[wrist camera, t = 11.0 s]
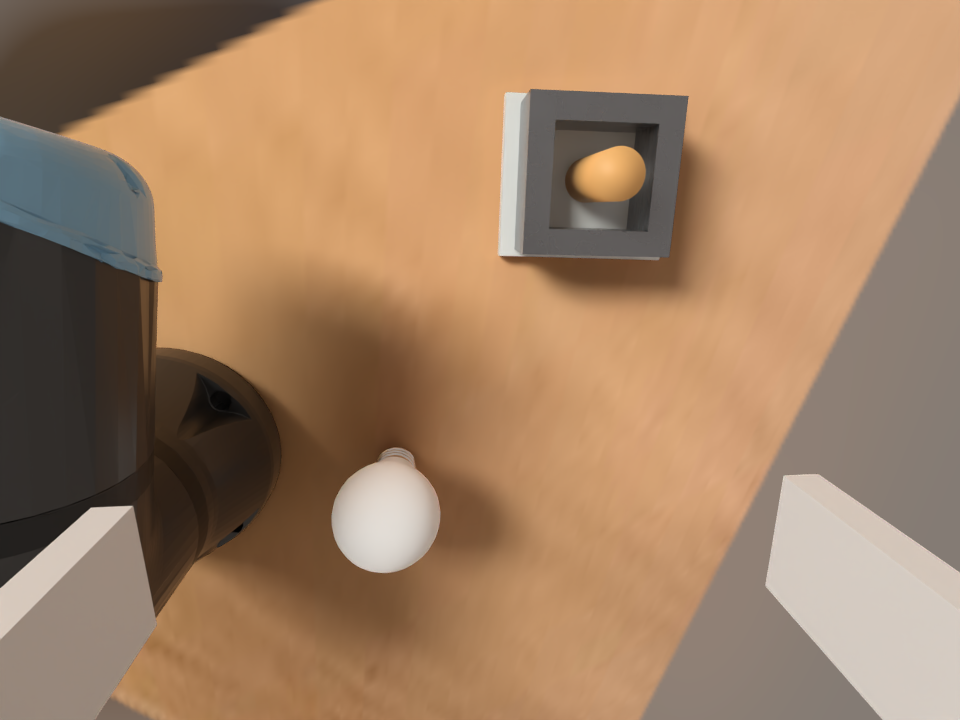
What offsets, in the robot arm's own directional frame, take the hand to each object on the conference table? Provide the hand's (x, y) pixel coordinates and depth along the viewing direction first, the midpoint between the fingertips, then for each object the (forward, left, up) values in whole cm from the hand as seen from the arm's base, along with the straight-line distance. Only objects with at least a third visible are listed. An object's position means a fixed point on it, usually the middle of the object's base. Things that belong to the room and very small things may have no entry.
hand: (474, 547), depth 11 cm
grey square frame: (+8, +9, -27) cm, 30 cm away
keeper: (+9, +9, -28) cm, 31 cm away
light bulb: (-4, -12, -28) cm, 31 cm away
